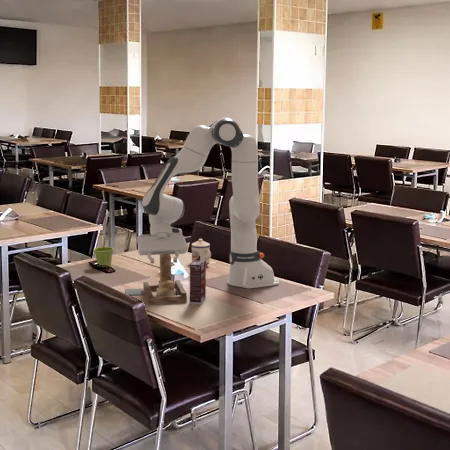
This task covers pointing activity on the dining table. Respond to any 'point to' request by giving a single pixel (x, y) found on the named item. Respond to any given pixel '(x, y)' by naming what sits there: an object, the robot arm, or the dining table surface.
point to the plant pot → (104, 255)
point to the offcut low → (166, 292)
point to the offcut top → (166, 285)
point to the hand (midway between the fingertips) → (163, 262)
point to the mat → (134, 291)
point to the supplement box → (197, 282)
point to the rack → (165, 299)
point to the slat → (165, 267)
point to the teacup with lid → (201, 251)
